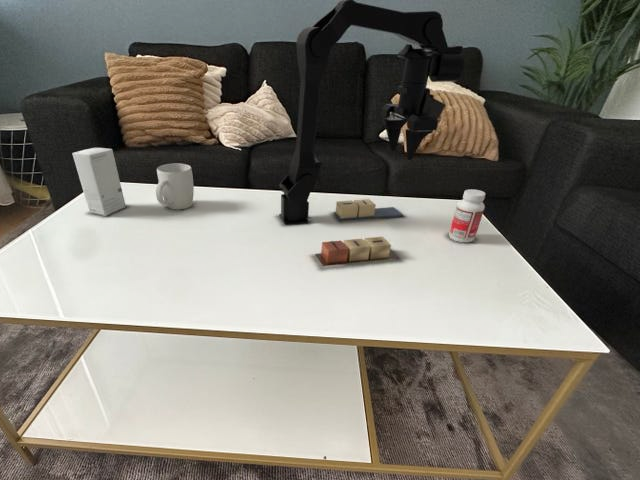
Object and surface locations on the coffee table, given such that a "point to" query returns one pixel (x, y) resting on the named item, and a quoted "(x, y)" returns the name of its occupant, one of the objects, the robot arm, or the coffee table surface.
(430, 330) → the coffee table surface
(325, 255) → the red wooden cube
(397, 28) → the robot arm
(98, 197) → the cosmetic box
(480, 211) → the pill bottle
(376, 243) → the near word
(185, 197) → the mug
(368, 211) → the far word
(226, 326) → the coffee table surface
